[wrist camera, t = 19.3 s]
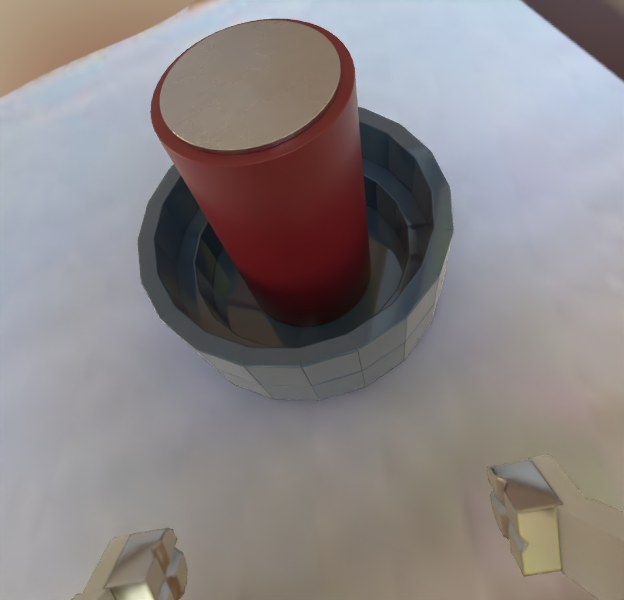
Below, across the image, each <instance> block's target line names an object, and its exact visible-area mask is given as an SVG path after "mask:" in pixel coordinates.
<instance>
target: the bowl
mask: <svg viewBox="0 0 624 600" xmlns="http://www.w3.org/2000/svg"><path fill="white" fill-rule="evenodd" d="M358 115H359V127H360V140H361V152H362V164H363V176H364V188H365V201H366V213H367V225H368V237H369V249H370V262H371V274H370V280H369V283H368V286H367V289H366V291H365V293H364V294H363V296H362V298H361V299H360V300H359V302H358V303H357V304H356V305H355V306H354V307H353V308H352V309H351V310H350V311H348V312H347V313H346V314H344V315H343V316H341V317H340V318H338V319H336V320H334V321H331V322H329V323H326V324H322V325H317V326H309V327H301V326H293V325H288V324H285V323H282V322H280V321H278V320H276V319H274V318H272V317H271V316H269V315H268V314H267V313H266V312H265V311H263V310H262V308H261V307H260V306H259V305H258V303H257V302H256V300H255V298H254V297H253V295H252V293H251V292H250V290H249V288H248V287H247V285H246V283H245V282H244V280H243V278H242V277H241V275H240V273H239V272H238V270H237V268H236V267H235V265H234V263H233V262H232V260H231V258H230V257H229V255H228V253H227V252H226V250H225V248H224V247H223V245H222V243H221V242H220V240H219V238H218V237H217V235H216V233H215V232H214V230H213V228H212V226H211V225H210V223H209V221H208V220H207V218H206V216H205V215H204V213H203V211H202V210H201V208H200V206H199V205H198V203H197V201H196V200H195V198H194V196H193V195H192V193H191V191H190V190H189V188H188V186H187V185H186V183H185V181H184V180H183V178H182V176H181V175H180V173H179V171H178V170H177V168H176V166H175V165H172V166H171V168H170V169H169V170H168V172H167V173H166V175H165V176H164V178H163V180H162V181H161V183H160V184H159V186H158V188H157V189H156V191H155V192H154V194H153V195H152V197H151V199H150V200H149V202H148V204H147V208H146V212H145V215H144V219H143V223H142V226H141V230H140V234H139V237H138V252H139V264H140V276H141V283H142V285H143V287H144V289H145V291H146V293H147V295H148V297H149V299H150V301H151V303H152V305H153V307H154V309H155V311H156V313H157V315H158V317H159V319H160V320H161V321H162V322H163V323H164V324H165V325H166V326H167V327H169V328H170V329H171V330H172V331H173V332H174V333H175V334H176V335H178V336H179V337H180V338H181V339H182V340H183V341H184V342H185V343H186V344H188V345H189V346H190V347H191V348H192V349H193V350H194V351H195V352H196V353H198V354H199V355H200V356H201V357H202V358H203V359H204V360H205V361H207V362H208V363H209V364H210V365H211V366H212V367H214V368H215V369H216V370H217V371H218V372H219V373H221V374H222V375H223V376H224V377H225V378H227V379H228V380H229V381H230V382H231V383H233V384H234V385H236V386H239V387H242V388H244V389H247V390H250V391H253V392H255V393H258V394H261V395H263V396H266V397H269V398H272V399H281V400H323V399H327V398H330V397H334V396H337V395H340V394H344V393H347V392H350V391H354V390H357V389H361V388H364V387H366V386H368V385H369V384H371V383H372V382H374V381H375V380H376V379H378V378H379V377H381V376H382V375H384V374H385V373H387V372H388V371H390V370H391V369H393V368H394V367H396V366H397V365H398V364H400V363H401V362H403V360H405V359H406V357H407V356H408V355H409V353H410V352H411V351H412V350H413V348H414V347H415V346H416V344H417V343H418V342H419V340H420V339H421V338H422V336H423V335H424V334H425V332H426V331H427V330H428V328H429V327H430V325H431V322H432V319H433V316H434V313H435V309H436V306H437V303H438V300H439V296H440V293H441V290H442V286H443V281H444V276H445V271H446V267H447V262H448V257H449V252H450V247H451V242H452V237H453V230H454V227H453V215H452V204H451V192H450V189H449V188H450V187H449V185H448V183H447V181H446V179H445V177H444V175H443V173H442V171H441V169H440V167H439V166H438V164H437V162H436V160H435V158H434V156H433V154H432V152H430V150H429V149H428V148H427V147H426V146H424V145H423V144H422V143H421V142H420V141H419V140H418V139H417V138H415V137H414V136H413V135H412V134H411V133H410V132H409V131H408V130H406V129H405V128H404V127H403V126H402V125H400V124H399V123H396V122H394V121H392V120H389V119H387V118H385V117H383V116H380V115H378V114H376V113H374V112H371V111H369V110H367V109H365V108H361V107H358Z"/></svg>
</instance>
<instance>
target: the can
mask: <svg viewBox="0 0 624 600" xmlns="http://www.w3.org/2000/svg"><path fill="white" fill-rule="evenodd" d="M151 120H152V124H153V127H154V131H155V132H156V134H157V136H158V138H159V140H160V141H161V143H162V145H163V146H164V148H165V150H166V151H167V153H168V155H169V156H170V158H171V160H172V161H173V163H174V165H175V166H176V168H177V170H178V171H179V173H180V175H181V176H182V178H183V180H184V181H185V183H186V185H187V186H188V188H189V190H190V191H191V193H192V195H193V196H194V198H195V200H196V201H197V203H198V205H199V206H200V208H201V210H202V211H203V213H204V215H205V216H206V218H207V220H208V221H209V223H210V225H211V226H212V228H213V230H214V232H215V233H216V235H217V237H218V238H219V240H220V242H221V243H222V245H223V247H224V248H225V250H226V252H227V253H228V255H229V257H230V258H231V260H232V262H233V263H234V265H235V267H236V268H237V270H238V272H239V273H240V275H241V277H242V278H243V280H244V282H245V283H246V285H247V287H248V288H249V290H250V292H251V293H252V295H253V297H254V298H255V300H256V302H257V303H258V305H259V306H260V307H261V308H262V310H263V311H265V312H266V313H267V314H268V315H269V316H271V317H272V318H274V319H276V320H278V321H280V322H282V323H285V324H288V325H293V326H301V327H309V326H317V325H322V324H326V323H329V322H331V321H334V320H336V319H338V318H340V317H341V316H343V315H344V314H346V313H347V312H348V311H350V310H351V309H352V308H353V307H354V306H355V305H356V304H357V303H358V302H359V300H360V299H361V298H362V296H363V294H364V293H365V291H366V289H367V286H368V283H369V280H370V274H371V262H370V249H369V237H368V225H367V213H366V201H365V188H364V176H363V164H362V152H361V140H360V127H359V115H358V103H357V91H356V79H355V68H354V64H353V60H352V58H351V55H350V53H349V51H348V50H347V48H346V47H345V45H344V44H343V43H342V42H341V41H340V40H339V39H338V38H337V37H336V36H335V35H333V34H332V33H330V32H329V31H327V30H325V29H323V28H321V27H319V26H317V25H314V24H311V23H307V22H303V21H299V20H291V19H263V20H256V21H250V22H246V23H241V24H238V25H235V26H231V27H228V28H226V29H223V30H221V31H218V32H216V33H214V34H212V35H210V36H208V37H206V38H204V39H202V40H201V41H199V42H197V43H196V44H194V45H193V46H191V47H190V48H189V49H187V50H186V51H185V52H183V53H182V54H181V55H180V56H179V57H178V58H177V59H176V60H175V61H174V62H173V63H172V64H171V65H170V66H169V67H168V69H167V70H166V71H165V72H164V74H163V75H162V77H161V79H160V80H159V82H158V84H157V86H156V89H155V91H154V94H153V98H152V102H151Z"/></svg>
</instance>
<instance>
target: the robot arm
mask: <svg viewBox="0 0 624 600" xmlns="http://www.w3.org/2000/svg"><path fill="white" fill-rule="evenodd" d="M487 475H488V481H489V483H490V485H491V487H492V489H493V491H492V493H491V495H490V497H491V503H492V508H493V512H494V515H495V519H496V521H497V524H498V526H499V528H500V531H501V533H502V535H503V536H504V537H506V538H507V539H509V540H510V547H511V553H512V554H513V556H514V558H515V560H516V562H517V564H518V566H519V568H520V570H521V572H522V574H523V576H530V575H537V574H544V573H551V572H558V571H562V573H563V574H565V575H566V576H567V577H569V578H570V579H571V580H573V581H574V582H575V583H577V584H578V585H579V586H581V587H582V588H583V589H585V590H586V591H587V592H589V593H590V594H591V595H593V596H594V597H595V598H597V599H598V600H624V513H623V512H621V511H619V510H617V509H615V508H612V507H610V506H608V505H606V504H604V503H602V502H599V501H597V500H595V499H593V500H587V498H586V497H585V496H584V495H583V493H582V492H581V491H580V490H579V489H578V487H577V486H576V485H575V484H574V482H573V481H572V480H571V479H570V477H569V476H568V475H567V474H566V473H565V471H564V470H563V469H562V468H561V466H560V465H559V464H558V463H557V461H556V460H555V459H554V458H553V457H552V456H551V455H549V454H546V455H542V456H537V457H532V458H528V459H525V460H520V461H515V462H510V463H505V464H500V465H495V466H490V467H487ZM176 542H177V537H176V535H175V533H174V531H173V529H171V528H164V529H158V530H152V531H146V532H140V533H134V534H130V535H124V536H118V537H114V538H113V539H112V540H110V542H109V543H108V545H107V547H106V549H105V551H104V553H103V555H102V557H101V559H100V561H99V563H98V564H97V566H96V568H95V570H94V572H93V574H92V576H91V578H90V580H89V582H88V584H87V585H86V587H85V589H84V591H83V593H81V594H76V595H75V596H74V597H73V598H72V599H71V600H179V599H180V598H181V597H182V595H183V594H184V592H185V588H186V584H187V564H186V560H185V557H184V554H183V552H181V551H180V550H178V549H177V548H175V545H176Z"/></svg>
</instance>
